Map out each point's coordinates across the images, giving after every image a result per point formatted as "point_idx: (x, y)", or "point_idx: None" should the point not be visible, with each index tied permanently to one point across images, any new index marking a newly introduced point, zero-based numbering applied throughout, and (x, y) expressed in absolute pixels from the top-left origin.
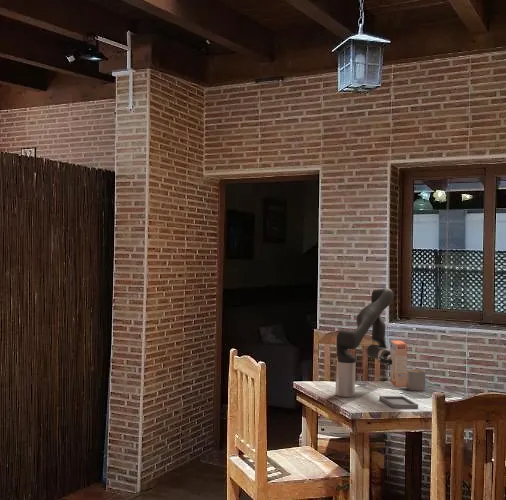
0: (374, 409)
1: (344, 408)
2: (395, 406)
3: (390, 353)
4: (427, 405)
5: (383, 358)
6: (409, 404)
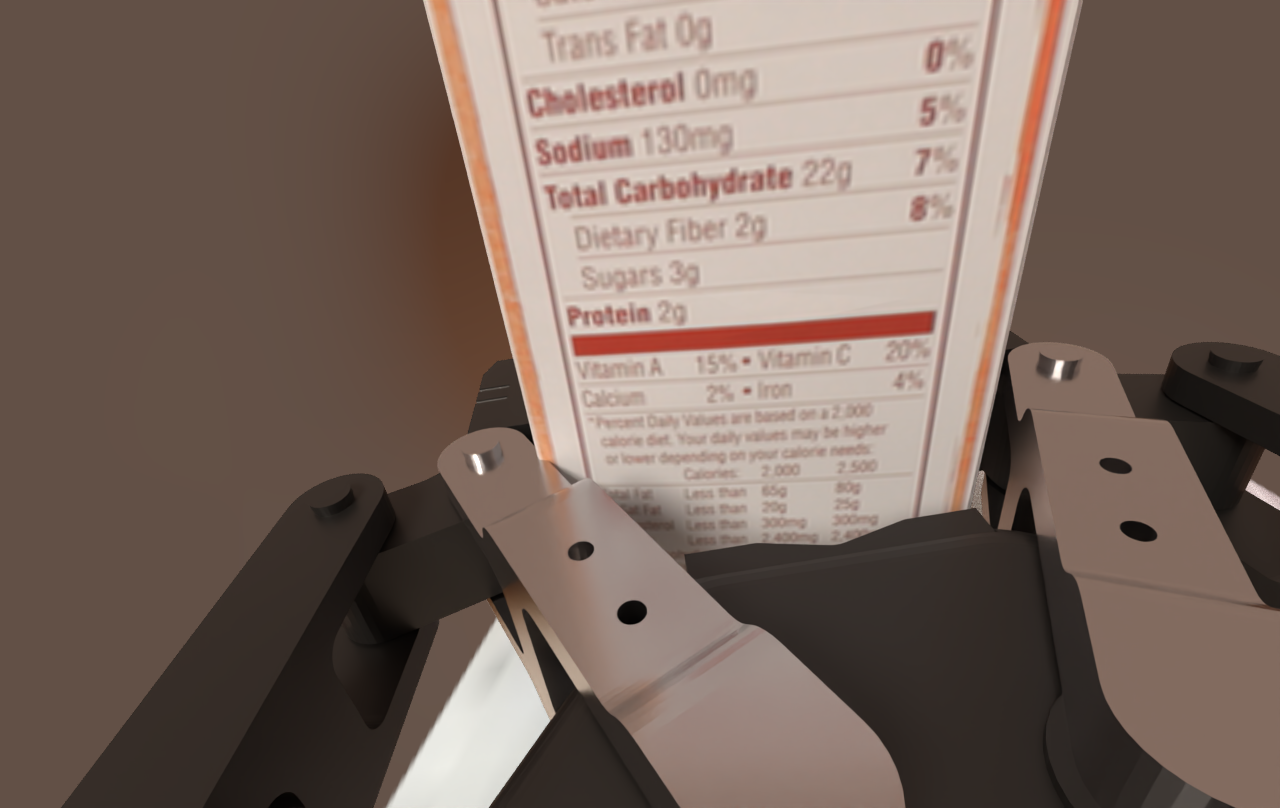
0: (976, 505)
1: (1250, 486)
2: None
3: (1018, 216)
4: (419, 755)
5: (1240, 347)
6: None
